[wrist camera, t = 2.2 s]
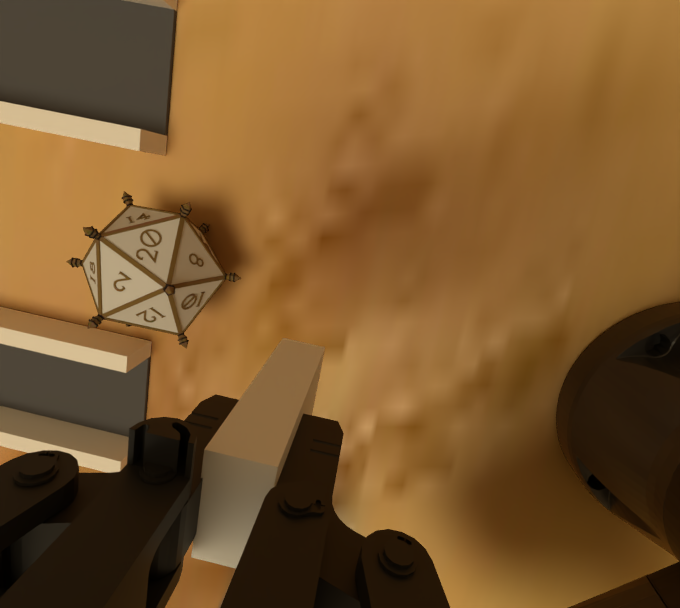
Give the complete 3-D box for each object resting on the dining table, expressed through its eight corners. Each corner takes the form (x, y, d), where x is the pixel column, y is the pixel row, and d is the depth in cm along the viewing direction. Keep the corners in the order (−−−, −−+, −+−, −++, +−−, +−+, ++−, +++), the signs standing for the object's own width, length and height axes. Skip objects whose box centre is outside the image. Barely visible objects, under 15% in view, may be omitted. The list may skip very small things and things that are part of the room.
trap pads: (176, 11, 25) (174, 9, 25) (144, 438, 33) (142, 440, 33) (-80, -35, 26) (-85, -38, 26) (-51, 390, 34) (-55, 392, 34)
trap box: (178, -12, 25) (150, -39, 22) (143, 451, 33) (120, 475, 30) (-99, -61, 26) (-161, -94, 23) (-64, 400, 34) (-106, 419, 31)
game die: (188, 234, 32) (73, 146, 23) (280, 253, 29) (185, 158, 20) (135, 343, 30) (-14, 292, 21) (228, 379, 27) (95, 334, 18)
